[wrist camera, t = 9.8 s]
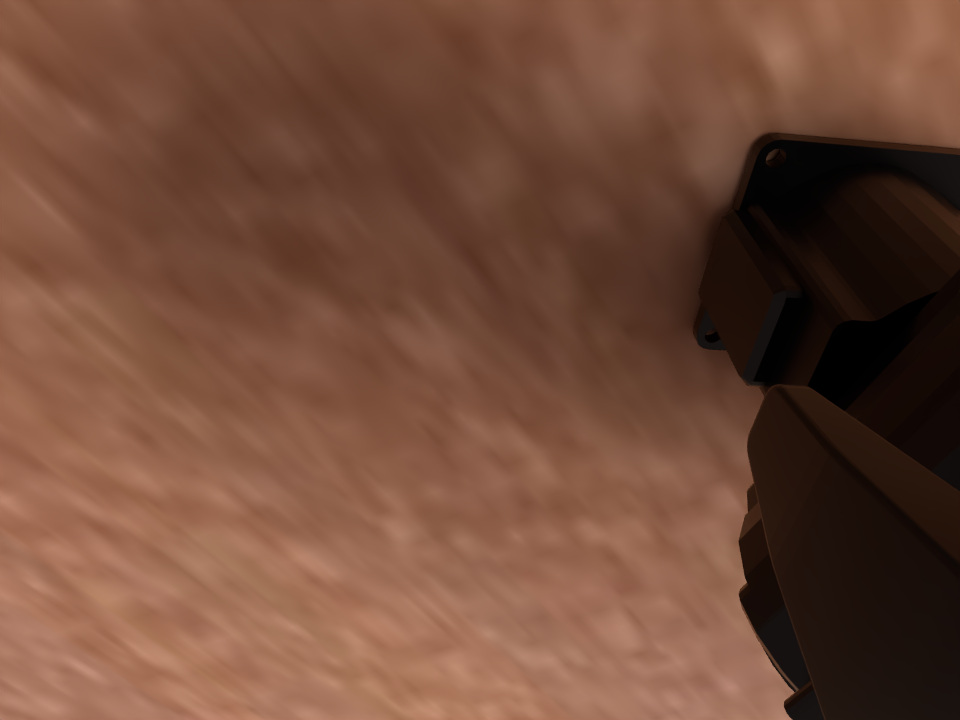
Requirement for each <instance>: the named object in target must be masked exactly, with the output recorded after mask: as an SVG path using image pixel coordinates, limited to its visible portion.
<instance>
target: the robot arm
mask: <svg viewBox="0 0 960 720" xmlns="http://www.w3.org/2000/svg"><path fill="white" fill-rule="evenodd" d="M774 149H780V154H779V156H778V157H777V158H776V159H774V160H773V161H769V162H767V161H766V157H767V155H768V154H769V153H770V152H771V151H773V150H774ZM698 294H699V296H700V298H701V300H702V302H701V305H700V308H699V311H698V315H697V318H696V321H695V324H694V327H693V334H694V336H695V338H696V340H697V342H698V345H700V346H701V347H702V348H705V349H711V350H727V352H728V354H729V356H730V358H731V360H732V362H733V364H734V366H735V368H736V370H737V372H738V374H739V376H740V377H741V379H742V380H743V381H744V383H745V384H746V385H747V386H759V387H760V389H761V391H762V393H763V395H764V397H765V398H764V400H763V402H762V405H761V407H760V409H759V412H758V414H757V416H756V419H755V421H754V424H753V426H752V428H751V431H750V433H749V437H748V443H747V451H748V457H749V462H750V467H751V471H752V476H753V481H754V483H753V484H752V485H751V487H750V488H749V489H748V491H747V501H748V513H747V514H746V516H745V518H744V522H743V526H742V530H741V534H740V538H739V547H740V552H741V558H742V563H743V569H744V575H745V579H746V581H747V583H746V584H745V585H744V586H743V587H742V588H741V589H740V592H739V598H740V602H741V606H742V609H743V611H744V613H745V615H746V617H747V619H748V621H749V623H750V625H751V627H752V629H753V631H754V633H755V635H756V637H757V639H758V641H759V642H760V644H761V645H762V647H763V649H764V650H765V652H766V654H767V656H768V657H769V659H770V661H771V663H772V664H773V666H774V667H775V669H776V670H777V671H778V673H779V674H780V675H781V677H782V678H783V679H784V681H785V682H786V683H787V684H788V686H789V687H790V688H791V689H792V690H793V691H794V692H795V693H794V694H792V695H791V696H790V697H789V698H788V699H786V700H785V702H784V708H785V710H786V712H787V714H788V715H789V717H790V718H791V719H793V720H960V149H950V148H939V147H927V146H916V145H905V144H893V143H882V142H871V141H859V140H848V139H836V138H825V137H814V136H802V135H791V134H780V133H775V134H768V135H766V136H764V137H762V138H761V139H760V140H759V141H758V142H757V143H756V144H755V145H754V147H753V149H752V151H751V154H750V157H749V160H748V163H747V166H746V169H745V172H744V175H743V178H742V182H741V185H740V188H739V191H738V194H737V197H736V200H735V203H734V206H733V209H731V210H730V211H729V212H728V213H727V214H725V215H724V216H723V217H722V220H721V223H720V226H719V229H718V232H717V235H716V239H715V242H714V245H713V248H712V251H711V254H710V257H709V260H708V263H707V266H706V269H705V272H704V275H703V279H702V282H701V285H700V288H699V292H698ZM711 329H716V330H717V331H716V332H715V333H713V334H710V335H706V333H707V332H708V331H709V330H711Z"/></svg>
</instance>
